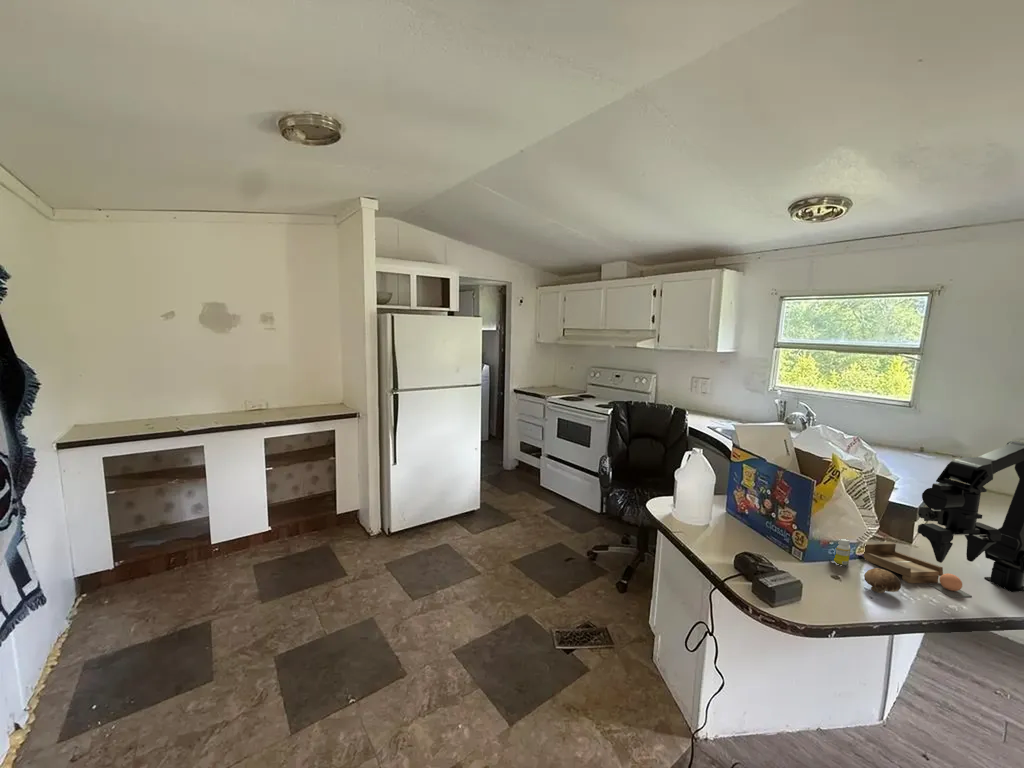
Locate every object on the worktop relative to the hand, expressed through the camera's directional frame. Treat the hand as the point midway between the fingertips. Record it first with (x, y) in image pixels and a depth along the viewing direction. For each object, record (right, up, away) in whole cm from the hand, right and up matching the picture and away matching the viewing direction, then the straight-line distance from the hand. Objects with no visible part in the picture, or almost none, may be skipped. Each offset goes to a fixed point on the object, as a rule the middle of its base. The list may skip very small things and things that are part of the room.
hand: (954, 561), depth 117 cm
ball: (0, -8, +1) cm, 8 cm away
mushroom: (-21, -9, -1) cm, 23 cm away
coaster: (0, -9, +1) cm, 9 cm away
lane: (-5, -7, +11) cm, 14 cm away
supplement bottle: (-21, -7, +14) cm, 26 cm away
